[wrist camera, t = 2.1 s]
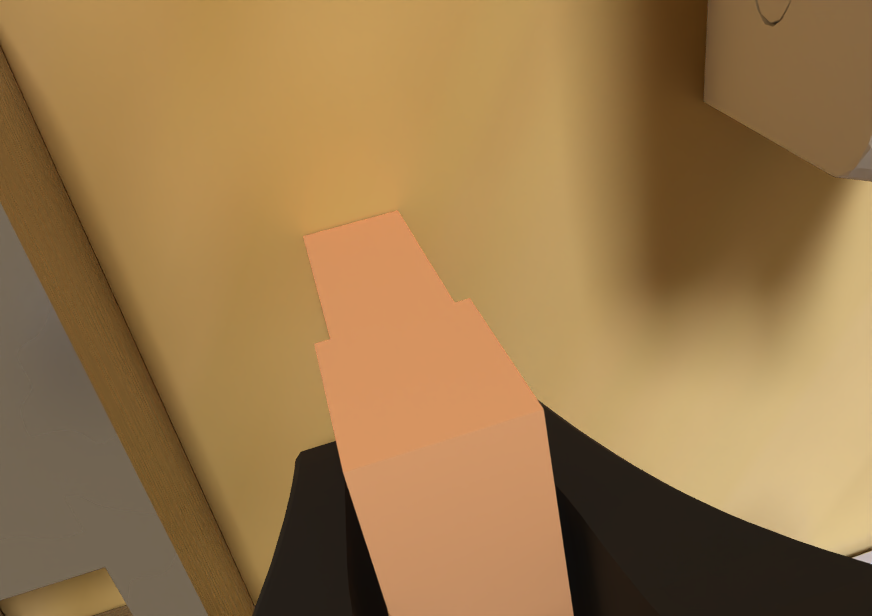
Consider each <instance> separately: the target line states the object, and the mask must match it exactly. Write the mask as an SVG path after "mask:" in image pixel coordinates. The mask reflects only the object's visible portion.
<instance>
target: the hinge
mask: <svg viewBox="0 0 872 616" xmlns="http://www.w3.org/2000/svg"><path fill="white" fill-rule="evenodd" d="M703 102H705V103H707V104H708V105H710V106H712V107H714V108H715V109H717V110H719V111H721V112H722V113H724V114H726V115H727V116H729V117H731V118H733V119H734V120H736V121H738V122H740V123H741V124H743V125H745V126H747V127H748V128H750V129H752V130H754V131H755V132H757V133H759V134H760V135H762V136H764V137H766V138H767V139H769V140H771V141H773V142H774V143H776V144H778V145H780V146H781V147H783V148H785V149H786V150H788V151H790V152H792V153H793V154H795V155H797V156H799V157H800V158H802V159H804V160H806V161H807V162H809V163H811V164H813V165H814V166H816V167H818V168H819V169H821V170H823V171H825V172H826V173H828V174H830V175H832V176H833V177H839V178H847V179H855V180H864V181H872V0H708V11H707V33H706V56H705V79H704V101H703Z"/></svg>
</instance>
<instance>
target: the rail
mask: <svg viewBox="0 0 872 616" xmlns="http://www.w3.org/2000/svg"><path fill="white" fill-rule="evenodd" d="M104 567H105V568H106V569H107V571H108V573H109V575H110V576H111V578H112V580H113V582H114V583H115V585H116V587H117V588H118V590H119V592H120V594H121V595H122V597H123V599H124V601H125V602H126V604H127V605H125V606H122V607H119V608H116V609H113V610H110V611H107V612H104V613H101V614H97V615H94V616H252V614H253V612H254V609H255V607H254V605H253V602H252V600H251V598H250V596H249V594H248V591H247V589H246V587H245V585H244V583H243V580H242V578H241V576H240V574H239V572H238V569H237V567H236V565H235V563H234V561H233V558H232V556H231V554H230V552H229V550H228V547H227V545H226V543H225V541H224V538H223V536H222V534H221V532H220V530H219V527H218V525H217V523H216V521H215V519H214V516H213V514H212V512H211V510H210V508H209V505H208V503H207V501H206V499H205V497H204V494H203V492H202V490H201V488H200V486H199V483H198V481H197V479H196V477H195V475H194V472H193V470H192V468H191V466H190V464H189V461H188V459H187V457H186V455H185V453H184V450H183V448H182V446H181V444H180V442H179V439H178V437H177V435H176V433H175V431H174V428H173V426H172V424H171V422H170V420H169V417H168V415H167V413H166V411H165V408H164V406H163V404H162V402H161V400H160V397H159V395H158V393H157V391H156V389H155V386H154V384H153V382H152V380H151V378H150V375H149V373H148V371H147V369H146V367H145V364H144V362H143V360H142V358H141V356H140V353H139V351H138V349H137V347H136V345H135V342H134V340H133V338H132V336H131V334H130V331H129V329H128V327H127V325H126V323H125V320H124V318H123V316H122V314H121V312H120V309H119V307H118V305H117V303H116V301H115V298H114V296H113V294H112V292H111V290H110V287H109V285H108V283H107V281H106V278H105V276H104V274H103V272H102V270H101V267H100V265H99V263H98V261H97V259H96V256H95V254H94V252H93V250H92V248H91V245H90V243H89V241H88V239H87V237H86V234H85V232H84V230H83V228H82V226H81V223H80V221H79V219H78V217H77V215H76V212H75V210H74V208H73V206H72V204H71V201H70V199H69V197H68V195H67V193H66V190H65V188H64V186H63V184H62V182H61V179H60V177H59V175H58V173H57V171H56V168H55V166H54V164H53V162H52V160H51V157H50V155H49V153H48V151H47V148H46V146H45V144H44V142H43V140H42V137H41V135H40V133H39V131H38V129H37V126H36V124H35V122H34V120H33V118H32V115H31V113H30V111H29V109H28V107H27V104H26V102H25V100H24V98H23V96H22V93H21V91H20V89H19V87H18V85H17V82H16V80H15V78H14V76H13V74H12V71H11V69H10V67H9V65H8V63H7V60H6V58H5V56H4V54H3V52H2V49H1V47H0V600H3V599H6V598H9V597H13V596H16V595H19V594H22V593H25V592H28V591H31V590H35V589H38V588H41V587H44V586H47V585H50V584H54V583H57V582H60V581H63V580H66V579H69V578H72V577H76V576H79V575H82V574H85V573H88V572H91V571H95V570H98V569H101V568H104ZM0 616H4V615H3V614H2V613H1V611H0Z"/></svg>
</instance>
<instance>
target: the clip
mask: <svg viewBox="0 0 872 616" xmlns="http://www.w3.org/2000/svg"><path fill="white" fill-rule="evenodd" d="M303 238H304V242H305V245H306V249H307V253H308V257H309V261H310V264H311V268H312V272H313V276H314V280H315V283H316V287H317V291H318V295H319V298H320V302H321V306H322V310H323V314H324V317H325V321H326V325H327V329H328V332H329V336H330V339H329V340H325V341H322V342H318V343H315V344H314V345H315V349H316V354H317V358H318V363H319V367H320V372H321V376H322V380H323V385H324V389H325V394H326V398H327V403H328V407H329V412H330V416H331V421H332V425H333V430H334V434H335V439H336V443H337V448H338V452H339V457H340V461H341V465H342V470H343V474H344V477H345V480H346V483H347V486H348V489H349V492H350V495H351V498H352V502H353V505H354V508H355V511H356V514H357V517H358V520H359V523H360V526H361V529H362V532H363V535H364V538H365V541H366V545H367V548H368V551H369V554H370V557H371V560H372V563H373V566H374V569H375V572H376V575H377V578H378V581H379V584H380V588H381V591H382V594H383V597H384V600H385V603H386V606H387V609H388V612H389V615H390V616H574V615H573V608H572V601H571V594H570V587H569V580H568V573H567V567H566V560H565V553H564V546H563V539H562V532H561V525H560V518H559V512H558V505H557V498H556V491H555V484H554V477H553V470H552V463H551V457H550V450H549V443H548V436H547V429H546V422H545V415H544V409H543V407H542V406H541V404H540V403H539V401H538V400H537V398H536V397H535V395H534V394H533V392H532V391H531V389H530V388H529V386H528V385H527V383H526V382H525V380H524V379H523V377H522V376H521V374H520V373H519V371H518V370H517V368H516V367H515V365H514V364H513V362H512V361H511V359H510V358H509V356H508V355H507V353H506V352H505V350H504V349H503V347H502V346H501V344H500V343H499V341H498V340H497V338H496V337H495V335H494V334H493V332H492V331H491V329H490V328H489V326H488V325H487V323H486V322H485V320H484V319H483V317H482V316H481V314H480V313H479V311H478V310H477V308H476V307H475V305H474V304H473V302H472V301H471V299H470V298H469V299H465V300H462V301H458V302H454V301H453V299H452V297H451V296H450V294H449V293H448V291H447V289H446V288H445V286H444V284H443V283H442V281H441V280H440V278H439V276H438V275H437V273H436V271H435V270H434V268H433V267H432V265H431V263H430V262H429V260H428V258H427V257H426V255H425V254H424V252H423V250H422V249H421V247H420V245H419V244H418V242H417V241H416V239H415V237H414V236H413V234H412V233H411V231H410V229H409V228H408V226H407V224H406V223H405V221H404V220H403V218H402V216H401V215H400V213H399V211H398V210H397V211H393V212H390V213H386V214H383V215H379V216H375V217H372V218H368V219H364V220H361V221H357V222H353V223H350V224H346V225H342V226H339V227H335V228H331V229H328V230H324V231H320V232H317V233H313V234H309V235H306V236H303Z"/></svg>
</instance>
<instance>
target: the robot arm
mask: <svg viewBox="0 0 872 616" xmlns="http://www.w3.org/2000/svg"><path fill="white" fill-rule="evenodd" d="M538 401H539V400H538ZM539 403H540V404H541V406H542V407H543V409H544V415H545V422H546V429H547V436H548V443H549V450H550V457H551V463H552V470H553V477H554V484H555V491H556V498H557V505H558V512H559V518H560V525H561V532H562V539H563V546H564V553H565V560H566V567H567V573H568V580H569V587H570V594H571V601H572V608H573V615H574V616H872V551H869V552H866V553H864V554H861V555H858V556H855V557H852V558H850V557H847V556H843V555H840V554H837V553H833V552H830V551H827V550H824V549H821V548H818V547H815V546H812V545H809V544H806V543H803V542H800V541H797V540H794V539H791V538H789V537H786V536H783V535H781V534H778V533H776V532H773V531H770V530H768V529H765V528H762V527H760V526H757V525H754V524H752V523H749V522H747V521H744V520H742V519H739V518H737V517H735V516H732V515H730V514H727V513H725V512H723V511H721V510H718V509H716V508H714V507H712V506H710V505H708V504H706V503H704V502H701V501H699V500H697V499H695V498H693V497H691V496H689V495H687V494H685V493H683V492H681V491H679V490H677V489H675V488H673V487H671V486H669V485H668V484H666V483H664V482H662V481H660V480H658V479H657V478H655V477H653V476H651V475H650V474H648V473H646V472H644V471H643V470H641V469H639V468H637V467H636V466H634V465H632V464H631V463H629V462H628V461H626V460H624V459H623V458H621V457H619V456H618V455H616V454H615V453H613V452H612V451H610V450H608V449H607V448H605V447H604V446H602V445H601V444H599V443H598V442H596V441H595V440H593V439H592V438H590V437H589V436H587V435H586V434H584V433H583V432H581V431H580V430H578V429H577V428H575V427H574V426H573V425H571V424H570V423H568V422H567V421H566V420H564V419H563V418H562V417H560V416H559V415H557V414H556V413H555V412H553V411H552V410H551V409H549V408H548V407H547V406H545V405H544V404H543V403H541V402H540V401H539ZM252 616H388V610H387V606H386V603H385V600H384V597H383V594H382V591H381V588H380V584H379V581H378V578H377V575H376V572H375V569H374V566H373V563H372V560H371V557H370V554H369V551H368V548H367V545H366V541H365V538H364V535H363V532H362V529H361V526H360V523H359V520H358V517H357V514H356V511H355V508H354V505H353V502H352V498H351V495H350V492H349V489H348V486H347V483H346V480H345V477H344V474H343V470H342V465H341V461H340V457H339V452H338V448H337V443H336V441H334V442H331V443H328V444H325V445H321V446H318V447H315V448H312V449H308V450H305V451H302V452H300V454H299V455H298V457H297V459H296V461H295V470H294V476H293V482H292V488H291V492H290V497H289V501H288V505H287V510H286V514H285V518H284V522H283V525H282V528H281V532H280V535H279V539H278V542H277V545H276V549H275V552H274V556H273V559H272V562H271V565H270V568H269V571H268V574H267V576H266V579H265V582H264V584H263V587H262V590H261V593H260V595H259V598H258V601H257V604H256V606H255V609H254V612H253V614H252Z"/></svg>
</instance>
